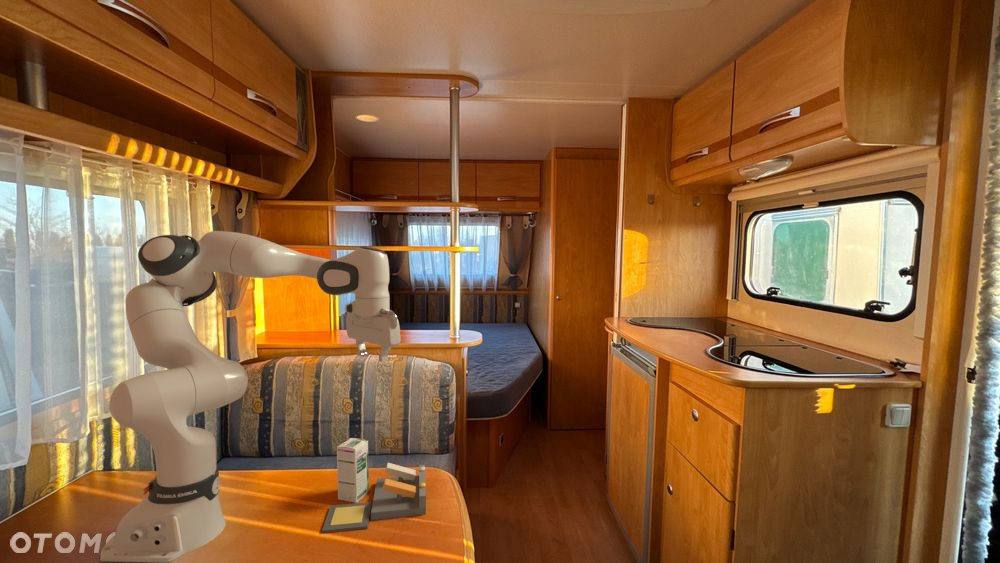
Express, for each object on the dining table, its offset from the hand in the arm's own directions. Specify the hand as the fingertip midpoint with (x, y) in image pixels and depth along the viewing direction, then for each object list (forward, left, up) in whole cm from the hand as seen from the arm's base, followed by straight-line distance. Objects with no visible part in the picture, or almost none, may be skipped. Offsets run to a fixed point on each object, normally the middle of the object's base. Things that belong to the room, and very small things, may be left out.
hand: (372, 358), depth 117 cm
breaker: (+7, -2, -31) cm, 32 cm away
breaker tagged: (+7, -11, -31) cm, 33 cm away
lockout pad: (-5, -13, -36) cm, 38 cm away
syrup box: (-5, -4, -36) cm, 36 cm away
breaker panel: (+7, -7, -36) cm, 37 cm away
